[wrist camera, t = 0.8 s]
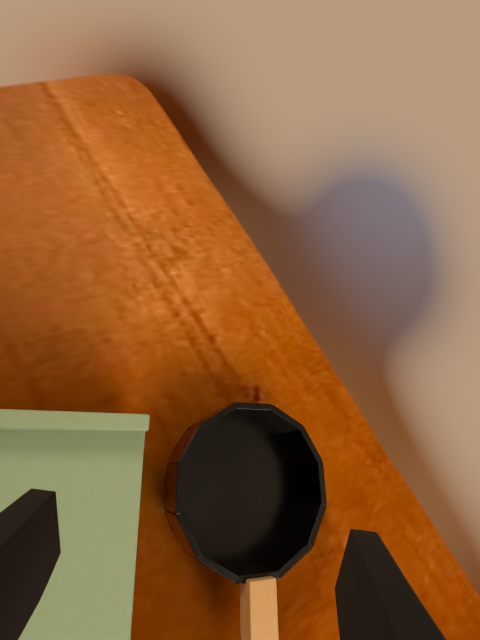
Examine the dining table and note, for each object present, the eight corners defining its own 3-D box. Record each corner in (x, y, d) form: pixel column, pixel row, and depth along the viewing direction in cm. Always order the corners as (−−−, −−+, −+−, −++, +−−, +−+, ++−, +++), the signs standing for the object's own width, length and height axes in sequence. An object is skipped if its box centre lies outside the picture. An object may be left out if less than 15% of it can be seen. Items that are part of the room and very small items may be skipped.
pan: (167, 407, 25) (182, 398, 22) (294, 412, 29) (322, 405, 26) (150, 741, 19) (166, 795, 16) (312, 697, 23) (352, 733, 20)
